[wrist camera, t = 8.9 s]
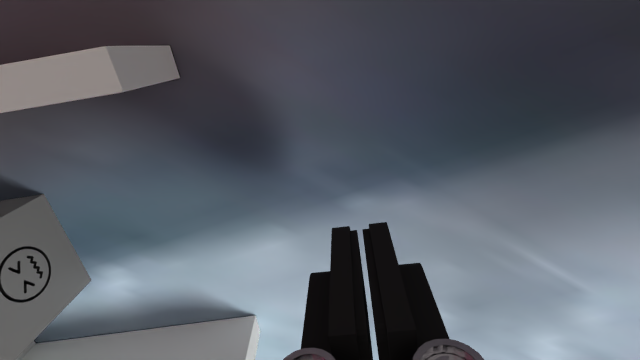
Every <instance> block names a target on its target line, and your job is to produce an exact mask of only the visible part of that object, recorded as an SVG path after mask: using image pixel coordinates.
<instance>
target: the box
mask: <svg viewBox="0 0 640 360" xmlns="http://www.w3.org/2000/svg"><path fill="white" fill-rule="evenodd" d="M179 78H180V76H179V73H178V70H177V67H176V63H175V60H174V57H173V54H172V51H171V48H170V46H103V47H97V48H92V49H86V50H81V51H75V52H69V53H64V54H58V55H53V56H47V57H42V58H36V59H30V60H25V61H19V62H14V63H8V64H2V65H0V113H4V112H10V111H16V110H21V109H27V108H33V107H39V106H45V105H51V104H57V103H63V102H68V101H74V100H80V99H86V98H92V97H98V96H104V95H109V94H115V93H121V92H126V91H130V90H134V89H138V88H142V87H146V86H150V85H154V84H158V83H162V82H166V81H170V80H175V79H179ZM259 336H260V328H259V325H258V322H257V319H256V316H247V317H239V318H231V319H224V320H216V321H208V322H200V323H192V324H185V325H177V326H169V327H161V328H153V329H146V330H138V331H130V332H122V333H114V334H107V335H99V336H91V337H83V338H75V339H68V340H60V341H52V342H44V343H35V342H34V341H33V342H32V343H31V344H30V345H29V346H28V347H27V348H26V349H25V350H24V351H23V352H22V353H21V354H20V355H19V356H18V358H17V359H16V360H255V357H256V351H257V346H258V341H259Z"/></svg>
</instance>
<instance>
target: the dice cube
mask: <svg viewBox="0 0 640 360" xmlns="http://www.w3.org/2000/svg"><path fill="white" fill-rule="evenodd" d="M90 281H91V278H90V277H89V275H88V273H87V271H86V269H85V267H84V266H83V264H82V262H81V260H80V258H79V257H78V255H77V253H76V251H75V249H74V248H73V246H72V244H71V242H70V240H69V239H68V237H67V235H66V233H65V231H64V230H63V228H62V226H61V224H60V222H59V221H58V219H57V217H56V215H55V213H54V211H53V210H52V208H51V206H50V204H49V202H48V201H47V199H46V197H45V195H44V194H41V195H34V196H28V197H21V198H15V199H8V200H2V201H0V360H16V359H17V358H18V356H19V355H20V354H21V353H22V352H23V351H24V350H25V349H26V348H27V347H28V346H29V345H30V344H31V343H32V342H33V341H34V340H35V339H36V338H37V337H38V336H39V335H40V333H41V332H42V331H43V330H44V329H45V328H46V327H47V326H48V325H49V324H50V323H51V322H52V321H53V320H54V319H55V318H56V317H57V316H58V315H59V314H60V313H61V312H62V310H63V309H64V308H65V307H66V306H67V305H68V304H69V303H70V302H71V301H72V300H73V299H74V298H75V297H76V296H77V295H78V294H79V293H80V292H81V291H82V290H83V289H84V287H85V286H86V285H87V284H88V283H89V282H90Z"/></svg>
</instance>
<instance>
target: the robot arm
mask: <svg viewBox="0 0 640 360" xmlns="http://www.w3.org/2000/svg"><path fill="white" fill-rule="evenodd" d="M363 237H364V245H365V253H366V261H367V269H368V277H369V285H370V293H371V301H372V309H373V317H374V324H375V332H376V340H377V347H378V355H379V360H484V359H483V358H482V356H481V355H480V354H479V353H478V352H476V351H475V350H474V349H472V348H471V347H470V346H468V345H466V344H464V343H461V342H459V341H456V340H451V339H449V337H448V334H447V331H446V329H445V326H444V323H443V321H442V318H441V315H440V313H439V310H438V307H437V305H436V302H435V300H434V297H433V294H432V292H431V289H430V286H429V284H428V281H427V278H426V276H425V273H424V270H423V268H422V266H421V264H420V263H413V264H403V265H398V262H397V258H396V254H395V251H394V247H393V243H392V240H391V236H390V232H389V229H388V225H387V222H384V223H375V224H369V229H363ZM283 360H373V356H372V347H371V338H370V329H369V320H368V311H367V302H366V294H365V287H364V279H363V272H362V264H361V257H360V249H359V242H358V235H357V230H354V231H350V227H349V226H347V227H338V228H332V241H331V269H330V271H329V272H318V273H311V274H310V279H309V287H308V295H307V304H306V312H305V320H304V328H303V336H302V344H301V349H300V350H297V351H294V352H293V353H291V354H290V355H288V356H287V357H285V358H284V359H283Z"/></svg>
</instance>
